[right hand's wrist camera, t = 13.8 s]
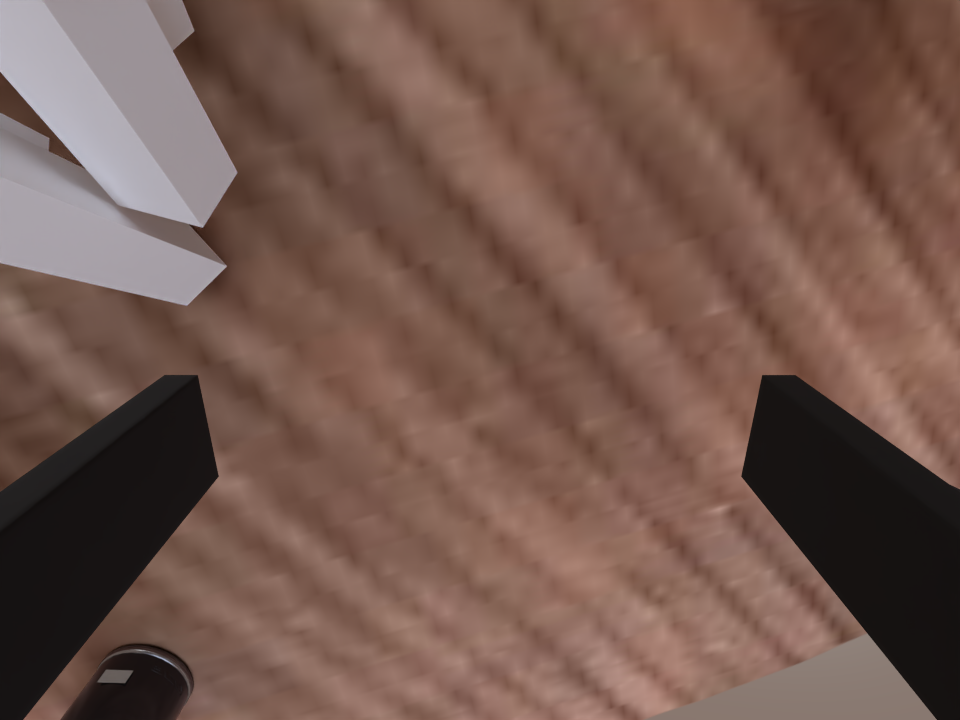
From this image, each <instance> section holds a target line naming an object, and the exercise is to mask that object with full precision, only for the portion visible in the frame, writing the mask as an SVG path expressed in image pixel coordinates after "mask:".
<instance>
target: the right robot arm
mask: <svg viewBox="0 0 960 720" xmlns="http://www.w3.org/2000/svg"><path fill="white" fill-rule="evenodd" d="M218 477H219V476H218V471H217V466H216V461H215V457H214V452H213V447H212V442H211V437H210V433H209V428H208V423H207V418H206V413H205V408H204V404H203V399H202V394H201V389H200V384H199V379H198V375H164V376H163V377H161V378H160V379H159V380H157V381H156V382H154V383H153V384H152V385H150V386H149V387H147V388H146V389H145V390H143V391H142V392H140V393H139V394H138V395H136V396H135V397H133V398H132V399H131V400H129V401H128V402H126V403H125V404H123V405H122V406H121V407H119V408H118V409H116V410H115V411H114V412H112V413H111V414H109V415H108V416H107V417H105V418H104V419H102V420H101V421H100V422H98V423H97V424H95V425H94V426H92V427H91V428H90V429H88V430H87V431H85V432H84V433H83V434H81V435H80V436H78V437H77V438H76V439H74V440H73V441H71V442H70V443H69V444H67V445H66V446H64V447H63V448H62V449H60V450H59V451H57V452H56V453H54V454H53V455H52V456H50V457H49V458H47V459H46V460H45V461H43V462H42V463H40V464H39V465H38V466H36V467H35V468H33V469H32V470H31V471H29V472H28V473H26V474H25V475H23V476H22V477H21V478H19V479H18V480H16V481H15V482H14V483H12V484H11V485H9V486H8V487H7V488H5V489H4V490H2V491H1V492H0V720H23V719H24V718H25V717H26V715H27V714H28V713H29V712H30V710H31V709H32V708H33V707H34V705H35V704H36V703H37V702H38V700H39V699H40V698H41V697H42V696H43V694H44V693H45V692H46V691H47V689H48V688H49V687H50V686H51V684H52V683H53V682H54V681H55V679H56V678H57V677H58V676H59V674H60V673H61V672H62V671H63V669H64V668H65V667H66V666H67V664H68V663H69V662H70V661H71V659H72V658H73V657H74V656H75V654H76V653H77V652H78V651H79V649H80V648H81V647H82V646H83V645H84V643H85V642H86V641H87V640H88V638H89V637H90V636H91V635H92V633H93V632H94V631H95V630H96V628H97V627H98V626H99V625H100V623H101V622H102V621H103V620H104V618H105V617H106V616H107V615H108V613H109V612H110V611H111V610H112V608H113V607H114V606H115V605H116V603H117V602H118V601H119V600H120V598H121V597H122V596H123V595H124V593H125V592H126V591H127V590H128V589H129V587H130V586H131V585H132V584H133V582H134V581H135V580H136V579H137V577H138V576H139V575H140V574H141V572H142V571H143V570H144V569H145V567H146V566H147V565H148V564H149V562H150V561H151V560H152V559H153V557H154V556H155V555H156V554H157V552H158V551H159V550H160V549H161V547H162V546H163V545H164V544H165V542H166V541H167V540H168V539H169V538H170V536H171V535H172V534H173V533H174V531H175V530H176V529H177V528H178V526H179V525H180V524H181V523H182V521H183V520H184V519H185V518H186V516H187V515H188V514H189V513H190V511H191V510H192V509H193V508H194V506H195V505H196V504H197V503H198V501H199V500H200V499H201V498H202V496H203V495H204V494H205V493H206V491H207V490H208V489H209V488H210V487H211V485H212V484H213V483H214V482H215V480H216V479H217V478H218ZM741 477H742V478H743V479H744V480H745V482H746V483H747V484H748V485H749V487H750V488H751V489H752V490H753V491H754V493H755V494H756V495H757V496H758V498H759V499H760V500H761V501H762V503H763V504H764V505H765V506H766V508H767V509H768V510H769V511H770V513H771V514H772V515H773V516H774V518H775V519H776V520H777V521H778V523H779V524H780V525H781V526H782V528H783V529H784V530H785V531H786V533H787V534H788V535H789V536H790V538H791V539H792V540H793V541H794V542H795V544H796V545H797V546H798V547H799V549H800V550H801V551H802V552H803V554H804V555H805V556H806V557H807V559H808V560H809V561H810V562H811V564H812V565H813V566H814V567H815V569H816V570H817V571H818V572H819V574H820V575H821V576H822V577H823V579H824V580H825V581H826V582H827V584H828V585H829V586H830V587H831V589H832V590H833V591H834V592H835V594H836V595H837V596H838V597H839V598H840V600H841V601H842V602H843V603H844V605H845V606H846V607H847V608H848V610H849V611H850V612H851V613H852V615H853V616H854V617H855V618H856V620H857V621H858V622H859V623H860V625H861V626H862V627H863V628H864V630H865V631H866V632H867V633H868V635H869V636H870V637H871V638H872V640H873V641H874V642H875V643H876V645H877V646H878V647H879V648H880V649H881V651H882V652H883V653H884V654H885V656H886V657H887V658H888V659H889V661H890V662H891V663H892V664H893V666H894V667H895V668H896V669H897V671H898V672H899V673H900V674H901V676H902V677H903V678H904V679H905V681H906V682H907V683H908V684H909V686H910V687H911V688H912V689H913V691H914V692H915V693H916V694H917V695H918V697H919V698H920V699H921V700H922V702H923V703H924V704H925V705H926V707H927V708H928V709H929V710H930V712H931V713H932V714H933V715H934V717H935V718H936V719H937V720H960V489H958V488H956V487H954V486H952V485H949V484H948V483H946V482H945V481H944V480H942V479H941V478H939V477H938V476H937V475H935V474H934V473H932V472H931V471H929V470H928V469H927V468H925V467H924V466H922V465H921V464H920V463H918V462H917V461H915V460H914V459H913V458H911V457H910V456H908V455H907V454H906V453H904V452H903V451H901V450H900V449H898V448H897V447H896V446H894V445H893V444H891V443H890V442H889V441H887V440H886V439H884V438H883V437H882V436H880V435H879V434H877V433H876V432H875V431H873V430H872V429H870V428H869V427H868V426H866V425H865V424H863V423H862V422H860V421H859V420H858V419H856V418H855V417H853V416H852V415H851V414H849V413H848V412H846V411H845V410H844V409H842V408H841V407H839V406H838V405H837V404H835V403H834V402H832V401H831V400H829V399H828V398H827V397H825V396H824V395H822V394H821V393H820V392H818V391H817V390H815V389H814V388H813V387H811V386H810V385H808V384H807V383H806V382H804V381H803V380H801V379H800V378H799V377H797V376H796V375H762V379H761V384H760V389H759V394H758V399H757V404H756V408H755V413H754V418H753V423H752V428H751V433H750V437H749V442H748V447H747V452H746V457H745V461H744V466H743V471H742V476H741Z"/></svg>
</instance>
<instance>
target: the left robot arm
mask: <svg viewBox="0 0 960 720" xmlns="http://www.w3.org/2000/svg"><path fill="white" fill-rule="evenodd" d="M192 690H193V679H192V676H191V673H190V671H189V670H188V668H187V667H186V666H185V665H184V664H183V663H182V662H181V661H180V660H179V659H178V658H176V657H175V656H173V655H172V654H170V653H168V652H166V651H163V650H161V649H158V648H154V647H150V646H144V645H130V646H124V647H121V648H118V649H116V650H114V651H112V652H111V653H109V654H108V655H107V656H106V657H105V658H104V660H103V661H102V662H101V664H100V665H99V667H98V669H97V671H96V672H95V674H94V675H93V676H92V678H91V679H90V681H89V682H88V683H87V685H86V686H85V687H84V689H83V690H82V691H81V693H80V694H79V695H78V697H77V698H76V699H75V701H74V702H73V703H72V705H71V706H70V707H69V709H68V710H67V711H66V713H65V714H64V715H63V717H62V718H61V720H176V719H177V717H178V716H179V714H180V712H181V710H182V708H183V706H184V705H185V704H186V703H187V701H188V699H189V697H190V695H191V693H192Z"/></svg>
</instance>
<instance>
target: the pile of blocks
mask: <svg viewBox="0 0 960 720" xmlns="http://www.w3.org/2000/svg"><path fill="white" fill-rule="evenodd" d="M193 32H194V28H193V26H192V23H191V21H190V18H189V16H188V13H187V11H186V8H185V6H184V3H183V1H182V0H0V72H1V73H2V74H3V76H4V77H5V78H6V79H7V80H8V81H9V82H10V83H11V85H12V86H13V87H14V88H15V89H16V90H17V91H18V93H19V94H20V95H21V96H22V97H23V98H24V99H25V100H26V102H27V103H28V104H29V105H30V106H31V107H32V108H33V110H34V111H35V112H36V113H37V114H38V115H39V116H40V118H41V119H42V120H43V121H44V122H45V123H46V124H47V125H48V127H49V128H50V129H51V130H52V131H53V132H54V133H55V135H56V136H57V137H58V138H59V139H60V140H61V141H62V142H63V144H64V145H65V146H66V147H67V148H68V149H69V150H70V152H71V153H72V154H73V155H74V156H75V157H76V158H77V160H78V161H79V162H80V163H81V164H82V165H83V166H84V167H85V169H84V168H82V167H80V166H78V165H76V164H74V163H72V162H70V161H68V160H66V159H64V158H62V157H60V156H58V155H55V154H53V153H51V152H49V138H48V137H46V136H44V135H42V134H40V133H38V132H36V131H35V130H33V129H31V128H29V127H27V126H25V125H23V124H21V123H19V122H17V121H15V120H13V119H11V118H9V117H7V116H6V115H4V114H2V113H0V263H3V264H7V265H11V266H16V267H20V268H25V269H29V270H33V271H38V272H42V273H46V274H51V275H55V276H59V277H64V278H68V279H73V280H77V281H81V282H86V283H90V284H94V285H99V286H103V287H107V288H112V289H116V290H121V291H125V292H129V293H134V294H138V295H142V296H147V297H151V298H155V299H160V300H164V301H169V302H173V303H177V304H182V305H186V306H187V305H188V304H189V303H190V302H191V301H192V300H193V299H194V298H195V297H196V296H197V295H198V294H199V293H200V292H201V291H202V290H203V289H204V288H206V287H207V286H208V285H209V284H210V283H211V282H212V281H213V280H214V279H215V278H216V277H217V276H218V275H219V274H220V273H221V272H222V271H223V270H224V269H225V268H226V267H227V265H226V264H225V263H224V262H223V261H222V260H221V259H220V258H219V257H218V256H217V255H216V253H215V252H214V251H213V250H212V249H211V248H210V247H209V246H208V245H207V244H206V243H205V241H204V240H203V239H202V238H201V237H200V236H199V235H198V234H197V233H196V232H195V231H194V229H193V228H192V227H191V226H190V225H189V224H191V225H194V226H198V227H202V228H203V227H204V225H205V224H206V222H207V220H208V219H209V217H210V216H211V214H212V213H213V211H214V209H215V208H216V206H217V205H218V203H219V201H220V200H221V198H222V197H223V195H224V193H225V192H226V190H227V189H228V187H229V185H230V184H231V182H232V181H233V179H234V177H235V176H236V174H237V173H238V172H237V170H236V169H235V167H234V165H233V163H232V161H231V159H230V157H229V155H228V154H227V152H226V150H225V148H224V146H223V144H222V142H221V141H220V139H219V137H218V135H217V133H216V131H215V129H214V127H213V126H212V124H211V122H210V120H209V118H208V116H207V114H206V112H205V111H204V109H203V107H202V105H201V103H200V101H199V99H198V97H197V96H196V94H195V92H194V90H193V88H192V86H191V84H190V82H189V81H188V79H187V77H186V75H185V73H184V71H183V69H182V67H181V66H180V64H179V62H178V60H177V58H176V56H175V54H174V52H173V50H174V49H175V48H176V47H177V46H178V45H180V44H181V43H182V42H183V41H184V40H185V39H186V38H187V37H189V36H190V35H191V34H192V33H193Z"/></svg>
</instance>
